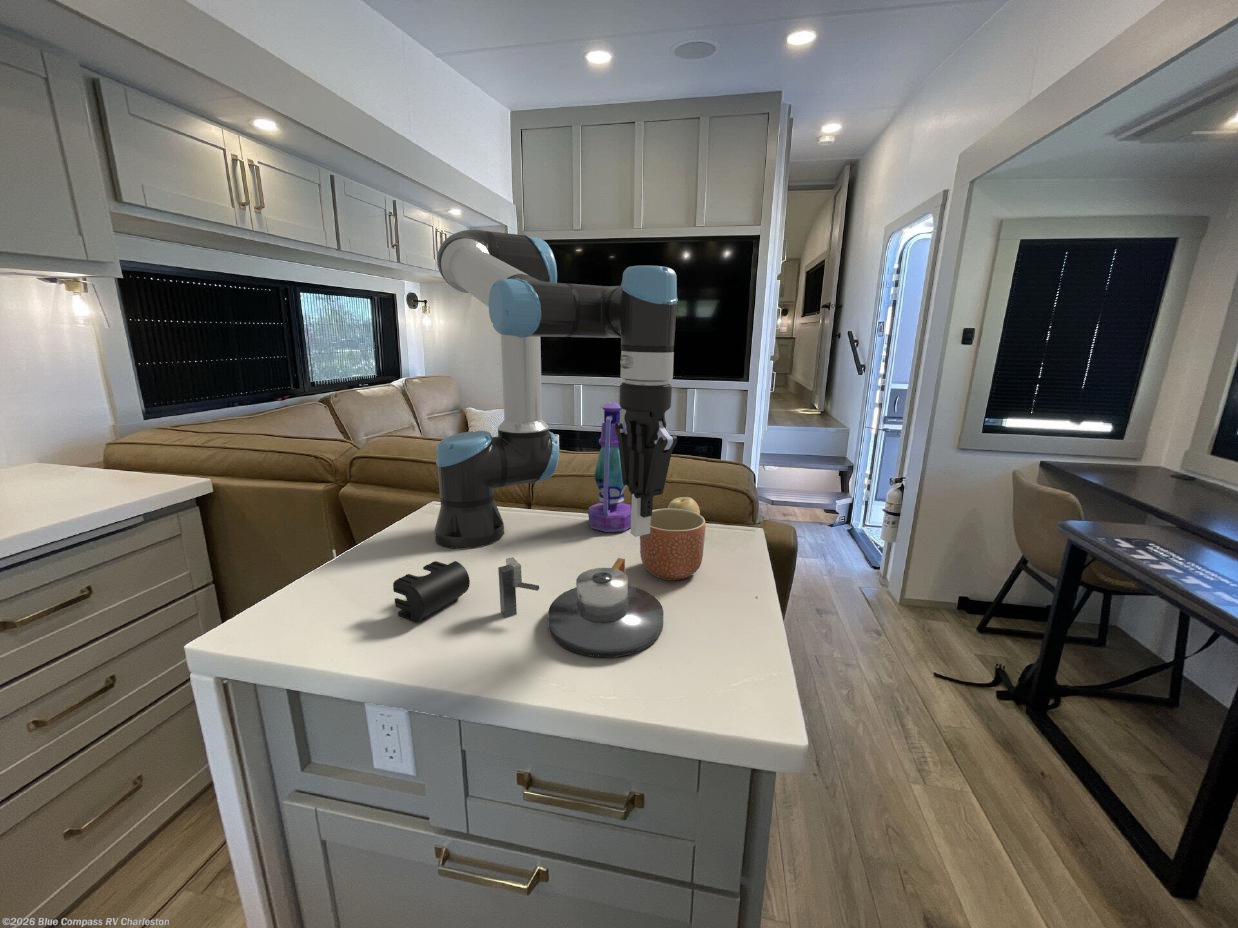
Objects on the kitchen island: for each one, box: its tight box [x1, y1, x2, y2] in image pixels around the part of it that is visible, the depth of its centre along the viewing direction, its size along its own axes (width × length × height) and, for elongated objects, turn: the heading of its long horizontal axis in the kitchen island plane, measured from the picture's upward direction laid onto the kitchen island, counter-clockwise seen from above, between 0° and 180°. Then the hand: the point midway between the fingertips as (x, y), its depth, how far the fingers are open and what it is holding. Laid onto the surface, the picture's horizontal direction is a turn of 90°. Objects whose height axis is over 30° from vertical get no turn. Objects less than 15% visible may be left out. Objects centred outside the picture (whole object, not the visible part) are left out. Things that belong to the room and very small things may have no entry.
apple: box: [667, 496, 701, 515], centre depth 118 cm, size 8×8×8 cm
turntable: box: [547, 557, 664, 658], centre depth 76 cm, size 18×18×7 cm
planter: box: [639, 507, 706, 581], centre depth 94 cm, size 12×12×11 cm
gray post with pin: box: [497, 556, 540, 618], centre depth 79 cm, size 6×5×9 cm
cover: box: [575, 567, 629, 622], centre depth 76 cm, size 8×8×5 cm
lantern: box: [587, 401, 631, 533], centre depth 115 cm, size 13×12×30 cm
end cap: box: [392, 560, 471, 623], centre depth 81 cm, size 10×7×7 cm
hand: (640, 533), depth 77 cm, fingers closed
